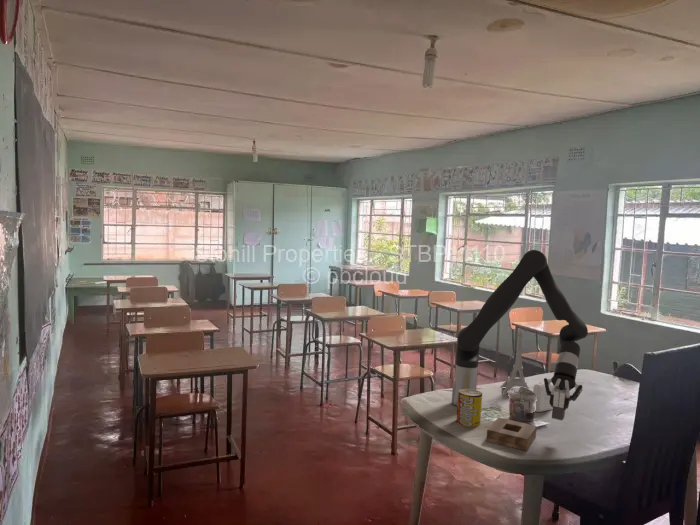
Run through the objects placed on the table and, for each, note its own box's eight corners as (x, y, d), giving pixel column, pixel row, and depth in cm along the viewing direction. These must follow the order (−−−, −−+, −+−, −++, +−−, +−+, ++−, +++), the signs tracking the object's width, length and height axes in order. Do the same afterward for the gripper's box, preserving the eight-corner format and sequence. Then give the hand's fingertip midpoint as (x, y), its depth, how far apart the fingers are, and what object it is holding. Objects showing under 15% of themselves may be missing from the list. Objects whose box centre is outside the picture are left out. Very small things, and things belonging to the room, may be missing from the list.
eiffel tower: (529, 389, 252) (534, 328, 249) (532, 398, 239) (537, 333, 236) (500, 386, 254) (505, 325, 252) (502, 394, 242) (507, 330, 239)
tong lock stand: (486, 440, 187) (487, 429, 186) (497, 428, 200) (498, 417, 199) (526, 451, 180) (527, 439, 179) (535, 437, 193) (536, 426, 192)
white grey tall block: (551, 418, 189) (554, 388, 188) (553, 415, 193) (556, 385, 192) (562, 420, 187) (565, 390, 186) (564, 417, 191) (567, 387, 190)
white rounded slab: (545, 406, 228) (547, 378, 227) (553, 409, 225) (556, 381, 224) (530, 409, 222) (532, 381, 222) (538, 413, 219) (540, 384, 218)
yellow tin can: (454, 417, 209) (456, 388, 208) (477, 419, 208) (479, 389, 207) (458, 426, 200) (460, 395, 199) (482, 427, 199) (484, 396, 199)
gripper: (546, 358, 198) (536, 397, 189) (586, 365, 191) (579, 406, 182) (547, 368, 203) (538, 408, 194) (587, 376, 196) (579, 417, 187)
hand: (558, 407), depth 188 cm, fingers closed on white grey tall block, 3 cm apart
